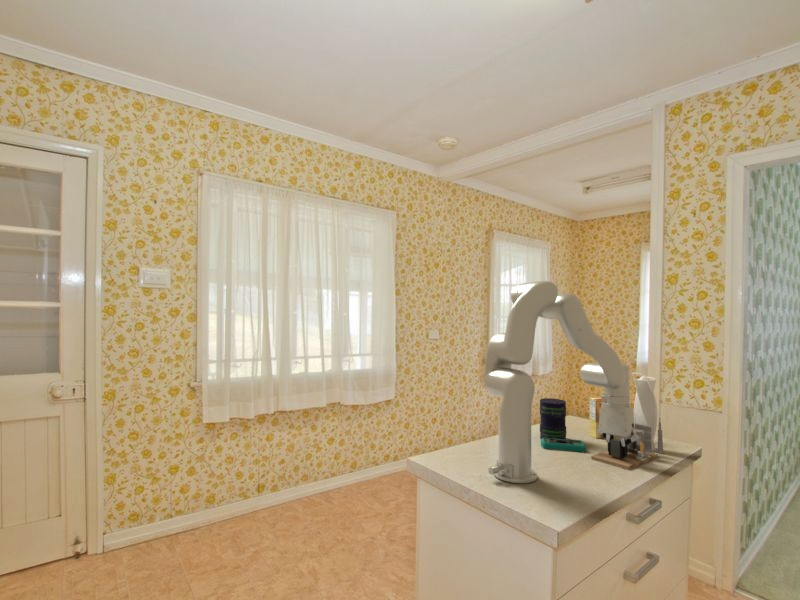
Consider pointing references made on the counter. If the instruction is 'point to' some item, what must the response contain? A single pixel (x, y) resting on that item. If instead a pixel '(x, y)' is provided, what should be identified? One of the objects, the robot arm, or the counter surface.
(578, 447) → the digital multimeter
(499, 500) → the counter surface
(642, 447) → the needle
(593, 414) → the candy box
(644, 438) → the base
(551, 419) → the storage jar
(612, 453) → the plunger
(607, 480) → the counter surface
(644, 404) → the skyscraper
